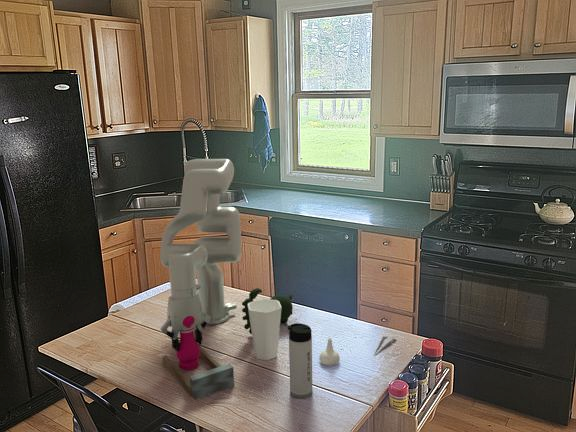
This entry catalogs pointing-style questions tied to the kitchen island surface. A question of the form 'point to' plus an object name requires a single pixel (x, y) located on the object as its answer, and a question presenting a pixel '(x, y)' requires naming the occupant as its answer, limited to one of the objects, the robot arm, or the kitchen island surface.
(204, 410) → the kitchen island surface
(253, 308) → the cup
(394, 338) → the tweezers
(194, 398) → the guide channel
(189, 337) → the pepper mill
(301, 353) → the travel mug
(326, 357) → the garlic bulb
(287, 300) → the toy figurine
